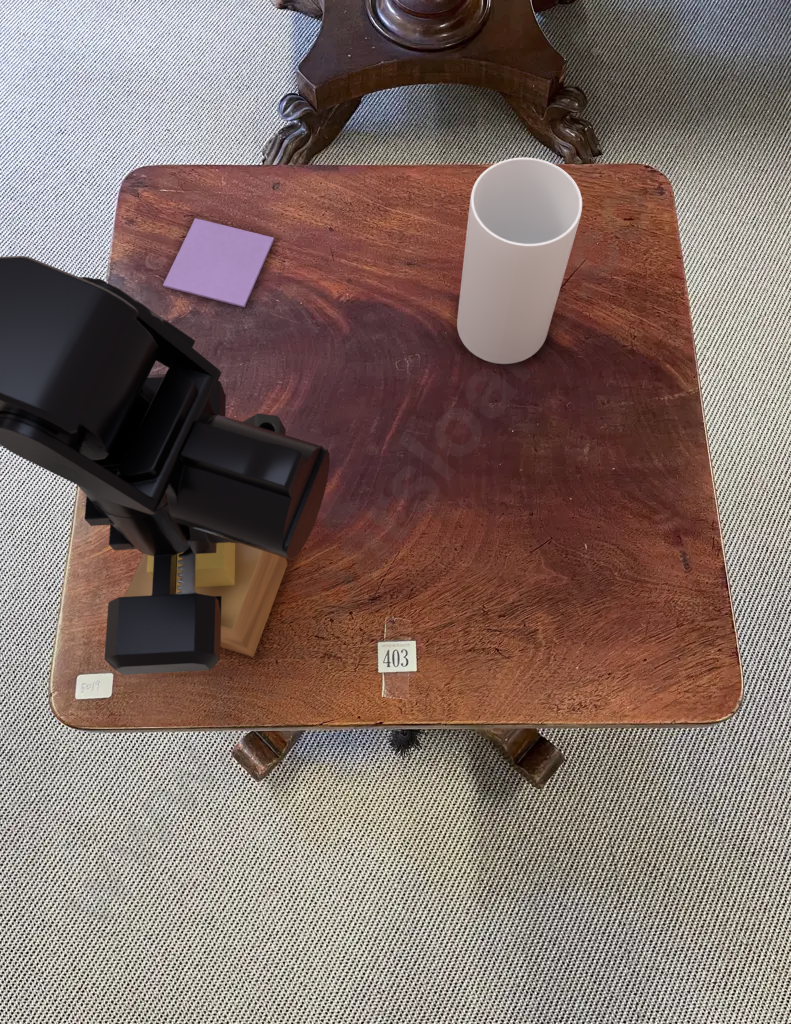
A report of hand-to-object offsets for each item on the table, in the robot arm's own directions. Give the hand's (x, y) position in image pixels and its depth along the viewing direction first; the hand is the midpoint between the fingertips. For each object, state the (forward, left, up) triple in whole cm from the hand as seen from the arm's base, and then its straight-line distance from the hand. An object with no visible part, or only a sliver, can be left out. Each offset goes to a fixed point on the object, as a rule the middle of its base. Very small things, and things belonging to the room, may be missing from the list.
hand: (199, 559), depth 60 cm
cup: (+15, +31, -9) cm, 36 cm away
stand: (0, 0, -9) cm, 9 cm away
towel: (-12, +30, -9) cm, 34 cm away
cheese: (0, 0, 0) cm, 0 cm away
